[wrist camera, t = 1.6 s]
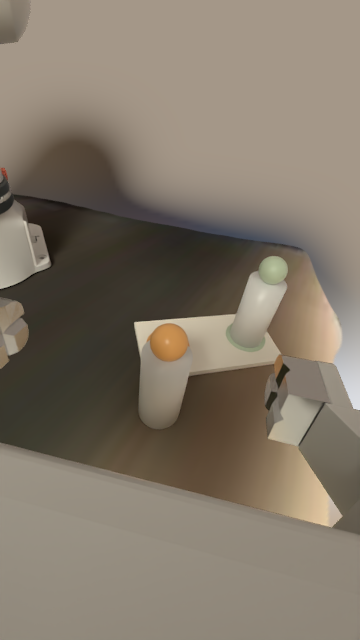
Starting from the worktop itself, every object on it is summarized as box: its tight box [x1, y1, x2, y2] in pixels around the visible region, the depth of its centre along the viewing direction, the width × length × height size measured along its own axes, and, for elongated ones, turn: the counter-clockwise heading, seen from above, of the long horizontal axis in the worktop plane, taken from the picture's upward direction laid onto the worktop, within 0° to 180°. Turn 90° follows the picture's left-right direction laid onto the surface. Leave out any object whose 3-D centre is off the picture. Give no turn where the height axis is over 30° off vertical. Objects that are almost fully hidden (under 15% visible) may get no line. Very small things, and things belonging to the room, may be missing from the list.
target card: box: [134, 314, 282, 376], centre depth 41 cm, size 10×20×1 cm, turn 104°
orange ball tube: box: [138, 323, 193, 429], centre depth 28 cm, size 5×5×13 cm
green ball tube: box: [230, 256, 288, 348], centre depth 38 cm, size 5×5×13 cm
